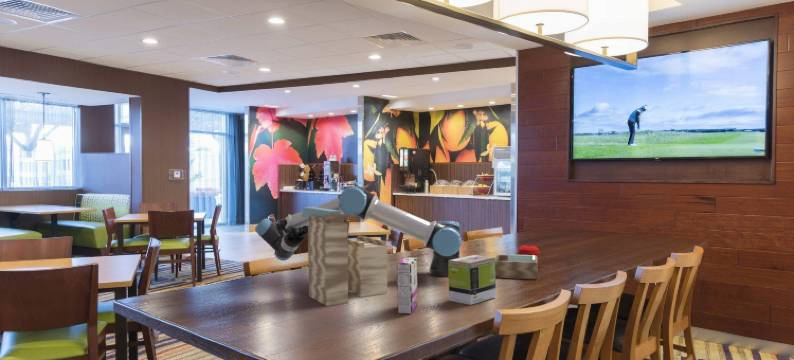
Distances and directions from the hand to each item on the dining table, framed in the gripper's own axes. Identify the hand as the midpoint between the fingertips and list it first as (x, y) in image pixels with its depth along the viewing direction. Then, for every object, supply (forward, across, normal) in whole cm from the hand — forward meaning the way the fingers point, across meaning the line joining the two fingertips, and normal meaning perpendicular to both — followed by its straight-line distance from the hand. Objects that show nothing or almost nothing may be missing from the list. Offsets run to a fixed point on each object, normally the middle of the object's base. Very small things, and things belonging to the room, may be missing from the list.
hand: (307, 216), depth 206 cm
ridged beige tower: (-6, -18, -30) cm, 35 cm away
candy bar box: (+24, -18, -47) cm, 56 cm away
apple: (-8, -107, -29) cm, 111 cm away
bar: (+10, -1, -6) cm, 11 cm away
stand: (+1, -1, -34) cm, 34 cm away
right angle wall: (+1, -92, -34) cm, 98 cm away
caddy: (+1, -89, -34) cm, 95 cm away
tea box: (+24, -45, -47) cm, 69 cm away
